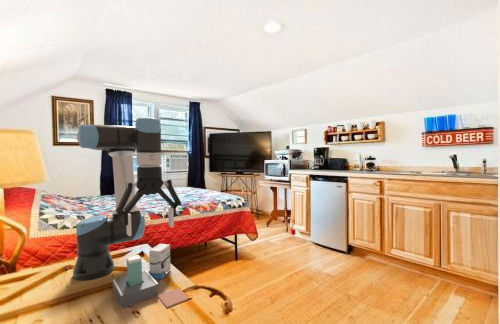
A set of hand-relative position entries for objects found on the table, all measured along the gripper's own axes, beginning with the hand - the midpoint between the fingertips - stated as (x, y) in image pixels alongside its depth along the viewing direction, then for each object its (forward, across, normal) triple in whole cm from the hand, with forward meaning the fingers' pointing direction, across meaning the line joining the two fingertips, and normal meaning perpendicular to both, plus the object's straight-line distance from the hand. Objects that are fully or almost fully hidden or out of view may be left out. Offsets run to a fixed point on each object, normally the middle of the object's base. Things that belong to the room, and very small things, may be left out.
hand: (151, 230), depth 85 cm
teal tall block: (+25, -3, +11) cm, 28 cm away
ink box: (+26, +9, +19) cm, 33 cm away
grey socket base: (+25, -3, +11) cm, 28 cm away
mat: (+25, +7, -1) cm, 26 cm away
